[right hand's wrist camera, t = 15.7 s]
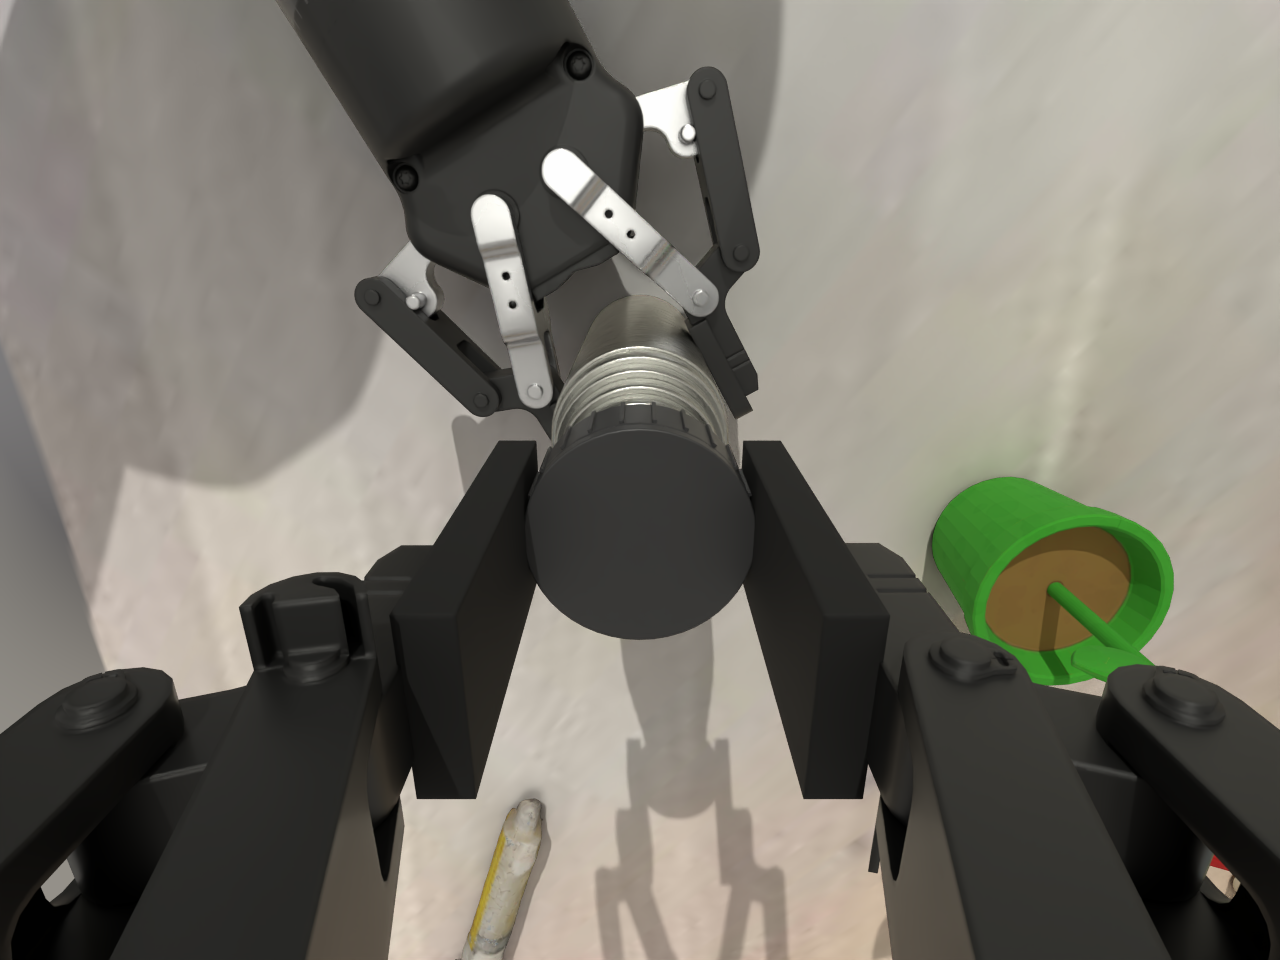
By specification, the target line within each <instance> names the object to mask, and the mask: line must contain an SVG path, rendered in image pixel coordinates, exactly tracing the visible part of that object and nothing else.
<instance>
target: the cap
mask: <svg viewBox="0 0 1280 960" xmlns="http://www.w3.org/2000/svg"><path fill="white" fill-rule="evenodd" d="M539 471H540V472H538V471H537V473H536V476H535V478H534V481H533V483H532V486H531V488H530V491H529V493H528V496H527V499H529V502H528V505H527V509H526V512H525V534H526V549H527V562H528V566H529V568H530V571H531V573H532V575H533V577H534V580H535V581H536V583H537V584H538V586H539V588H540V589H541V591H542V592H543V593H544V595H545V596H546V597H547V598H548V600H549V601H550V602H551V603H552V604H553V605H554V606H555V607H556V608H557V609H558V610H559V611H560V612H562V613H563V614H564V615H566V616H567V617H568V618H570V619H571V620H573V621H574V622H576V623H578V624H580V625H582V626H583V627H585V628H588V629H590V630H592V631H595V632H597V633H601V634H604V635H607V636H611V637H617V638H622V639H634V640H645V639H657V638H663V637H669V636H672V635H676V634H679V633H682V632H685V631H687V630H690V629H692V628H694V627H696V626H698V625H700V624H702V623H703V622H705V621H707V620H708V619H710V618H711V617H713V616H714V615H715V614H717V613H718V612H719V611H720V610H721V609H722V608H723V607H725V606H726V605H727V604H728V603H729V602H730V600H731V599H732V598H733V597H734V596H735V594H736V593H737V592H738V590H739V589H740V587H741V585H742V584H743V582H744V581H745V579H746V577H747V574H748V572H749V570H750V568H751V564H752V558H753V543H754V528H755V514H754V510H753V507H752V503H751V500H750V497H749V496H752V494H751V491H750V488H749V486H748V484H747V481H746V479H745V476H744V474H743V471H742V469H739V468H738V465H737V463H736V460H735V458H734V455H733V453H732V450H731V447H730V446H729V444H727V445H725V444H724V443H723V442H722V441H721V439H720V438H719V437H718V436H717V435H716V434H715V433H714V432H713V431H712V428H711V426H710V425H709V424H708V423H707V424H706V425H704V424H703V423H701V422H700V421H698V420H697V419H695V418H693V417H691V416H689V415H687V414H686V412H685V410H683V409H681V411H677V410H674V409H671V408H669V407H664V406H658V405H656V402H651V404H629V405H625V402H622V403H621V406H616V407H611V408H608V409H605V410H602V411H599V412H596V410H594V411H592V413H591V416H588V417H586V418H585V419H583V420H582V421H580V422H579V423H577V424H575V425H574V426H573V427H571V426H570V425H569V426H568V427H567V428H566V431H565V434H564V435H563V436H562V437H561V438H560V439H559V440H558V441H557V443H556V444H555V445H554V446H553V448H552V447H549V448H548V450H547V453H546V455H545V458H544V460H543V463H542V465H541V468H540V470H539Z"/></svg>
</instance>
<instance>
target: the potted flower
mask: <svg viewBox="0 0 1280 960" xmlns="http://www.w3.org/2000/svg"><path fill="white" fill-rule="evenodd" d="M932 551H933V558H934V560H935V563H936V565H937V568H938V569H939V571H940V573H941V574H942V576H943V578H944V579H945V581H946V583H947V584H948V586H949V588H950V590H951V591H952V593H953V595H954V596H955V598H956V600H957V601H958V603H959V605H960V606H961V608H962V610H963V612H964V617H965V621H966V623H967V626H968V628H969V631H970V633H971V635H975V636H978V637H980V638H983V639H985V640H988V641H990V642H993V643H995V644H997V645H999V646H1000V647H1002V648H1003V649H1005V650H1006V651H1008V652H1009V653H1011V654H1013V655H1014V656H1015V657H1016V658H1017V659H1018V660H1019V662H1020V663H1021V664H1022V665H1023V666H1024V668H1025V669H1026V670H1027V672H1028V674H1029V676H1030V678H1031V680H1032V682H1033V683H1037V684H1041V685H1048V686H1049V685H1067V684H1072V683H1077V682H1081V681H1086V680H1089V679H1092V678H1096V679H1099V680H1101V681H1104V682H1106V681H1107V677H1108V675H1109V674H1110V673H1112V672H1113V671H1114V670H1115V669H1117V668H1118V667H1122V666H1128V665H1134V664H1142V665H1153V666H1155V665H1154V664H1153V663H1152V662H1151V661H1149V660H1148V659H1147V658H1146V657H1145V656H1144V655H1143V654H1141V653H1140V652H1139V651H1140V650H1141V649H1142V648H1143V647H1144V646H1145V645H1146V644H1147V643H1148V642H1149V641H1150V640H1151V638H1152V637H1153V636H1154V634H1155V633H1156V631H1157V630H1158V628H1159V627H1160V626H1161V624H1162V622H1163V620H1164V618H1165V616H1166V614H1167V612H1168V609H1169V607H1170V603H1171V599H1172V594H1173V590H1174V573H1173V569H1172V565H1171V561H1170V557H1169V555H1168V554H1167V552H1166V550H1165V548H1164V546H1163V545H1162V543H1161V542H1160V541H1159V540H1158V539H1157V538H1156V537H1155V536H1154V535H1153V534H1152V533H1151V532H1150V531H1149V530H1147V529H1145V528H1144V527H1142V526H1140V525H1139V524H1137V523H1135V522H1133V521H1131V520H1129V519H1126V518H1124V517H1122V516H1120V515H1117V514H1115V513H1112V512H1109V511H1106V510H1103V509H1100V508H1096V507H1088V506H1085V505H1083V504H1081V503H1079V502H1077V501H1075V500H1072V499H1070V498H1068V497H1066V496H1064V495H1061V494H1059V493H1057V492H1055V491H1053V490H1050V489H1048V488H1046V487H1044V486H1042V485H1040V484H1037V483H1035V482H1032V481H1029V480H1026V479H1023V478H1015V477H1002V478H995V479H990V480H986V481H982V482H980V483H978V484H975V485H973V486H971V487H969V488H968V489H966V490H965V491H963V492H961V493H960V494H959V495H958V496H956V497H955V498H954V499H953V500H952V501H951V502H950V503H949V504H948V505H947V507H946V508H945V509H944V511H943V512H942V514H941V515H940V517H939V519H938V521H937V523H936V527H935V530H934V533H933V540H932ZM1210 866H1213V867H1217V868H1220V869H1224V870H1227V871H1229V870H1228V869H1227V868H1226V867H1225V866H1224V865H1223V864H1222V863H1221V862H1220V860H1219V859H1218V858H1217V857H1216V856H1215V855H1214V856H1213V859H1212V861H1211V864H1210Z"/></svg>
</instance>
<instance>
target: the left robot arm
mask: <svg viewBox="0 0 1280 960" xmlns="http://www.w3.org/2000/svg"><path fill="white" fill-rule="evenodd" d="M276 2H277V3H278V5H279V6H280V8H281V10H282V11H283V13H284V14H285V16H286V17H287V19H288V21H289V22H290V24H291V25H292V27H293V28H294V30H295V31H296V33H297V35H298V36H299V38H300V39H301V41H302V43H303V44H304V46H305V47H306V49H307V51H308V52H309V54H310V55H311V57H312V58H313V60H314V62H315V63H316V65H317V66H318V68H319V70H320V71H321V73H322V74H323V76H324V78H325V79H326V81H327V82H328V84H329V85H330V87H331V89H332V90H333V92H334V93H335V95H336V97H337V98H338V100H339V101H340V103H341V104H342V106H343V108H344V109H345V111H346V112H347V114H348V116H349V117H350V119H351V120H352V122H353V123H354V125H355V127H356V128H357V130H358V131H359V133H360V134H361V136H362V138H363V139H364V141H365V142H366V144H367V146H368V147H369V149H370V150H371V152H372V153H373V155H374V157H375V158H376V160H377V161H378V163H379V165H380V166H381V168H382V169H383V171H384V172H385V174H386V176H387V177H388V179H389V180H390V182H391V183H392V185H393V186H394V188H395V189H396V191H397V193H398V195H399V197H400V199H401V202H402V205H403V209H404V214H405V222H406V230H407V234H408V237H409V239H410V241H409V242H408V243H407V244H406V245H405V246H404V248H403V249H402V250H401V251H400V252H399V253H398V254H397V255H396V257H395V258H394V259H393V260H392V261H391V262H390V263H389V264H388V266H387V267H386V268H385V269H384V270H383V271H382V272H381V274H380V275H378V276H376V277H371V278H367V279H364V280H362V281H360V282H359V283H358V285H357V286H356V289H355V300H356V303H357V305H358V306H359V308H360V309H361V310H362V311H363V312H364V313H365V314H366V315H367V316H368V317H370V318H371V319H372V320H373V321H374V322H375V323H376V324H377V325H378V326H379V327H380V328H381V329H382V330H383V331H384V332H385V333H387V334H388V335H389V336H390V337H391V338H392V339H393V340H394V341H395V342H396V343H397V344H398V345H399V346H400V347H401V348H403V349H404V350H405V351H406V352H407V353H408V354H409V355H410V356H411V357H412V358H413V359H414V360H415V361H416V362H417V363H418V364H420V365H421V366H422V367H423V368H424V369H425V370H426V371H427V372H428V373H429V374H430V375H431V376H432V377H433V378H434V379H436V380H437V381H438V382H439V383H440V384H441V385H442V386H443V387H444V388H445V389H446V390H447V391H448V392H449V393H450V394H452V395H453V396H454V397H455V398H456V399H457V400H458V401H459V402H460V403H461V404H462V405H463V406H464V407H465V408H466V409H467V410H469V411H470V412H471V413H472V414H474V415H476V416H479V417H487V416H490V415H492V414H493V413H494V412H497V411H504V410H510V409H524V410H527V411H529V412H531V413H532V414H533V415H534V416H535V417H536V418H537V419H538V421H539V422H540V424H541V426H542V427H543V429H544V430H545V432H546V434H547V435H548V437H549V438H550V440H552V420H553V414H554V409H555V406H556V403H557V400H558V398H559V396H560V393H561V391H562V389H563V387H564V383H563V381H562V380H561V378H560V371H559V366H558V362H557V357H556V352H555V347H554V343H553V338H552V333H551V321H550V314H549V309H548V305H547V300H546V296H547V295H548V294H550V293H552V292H553V291H555V290H557V289H558V288H559V287H560V286H561V285H563V284H564V283H565V282H566V281H567V280H568V278H569V277H570V276H571V275H572V274H573V273H574V272H575V271H577V270H581V269H585V268H589V267H592V266H596V265H599V264H601V263H602V262H604V261H606V260H607V259H609V258H611V257H613V256H614V255H616V254H618V253H619V252H621V253H622V254H623V255H625V256H626V257H627V258H628V259H629V260H630V261H631V262H632V263H633V264H634V265H636V266H637V267H638V268H639V269H640V270H641V271H642V272H643V273H645V274H646V275H647V276H649V277H650V278H651V279H652V280H653V281H654V282H655V283H657V284H658V285H659V286H660V287H661V288H662V289H663V290H664V291H665V292H666V293H667V294H669V295H670V296H671V297H672V298H673V299H674V300H675V301H676V302H677V303H678V304H680V305H681V306H682V307H683V309H684V311H685V313H686V315H687V317H688V319H686V320H684V322H685V324H686V326H687V329H688V331H689V333H690V335H691V336H692V338H693V340H694V342H695V344H696V346H697V347H698V349H699V351H700V352H701V354H702V356H703V358H704V360H705V362H706V365H707V367H708V369H709V370H710V372H711V374H712V376H713V378H714V380H715V382H716V384H717V386H718V387H719V389H720V391H721V393H722V395H723V397H724V399H725V401H726V403H727V404H728V406H729V408H730V410H731V412H732V414H733V416H734V418H735V419H738V418H740V417H742V416H744V415H745V414H747V413H749V412H751V411H753V409H752V407H751V405H750V404H749V402H748V400H747V398H746V396H747V395H749V394H751V393H753V392H755V391H756V390H758V377H757V373H756V371H755V369H754V367H753V365H752V363H751V361H750V359H749V357H748V355H747V353H746V351H745V349H744V347H743V345H742V343H741V341H740V339H739V337H738V335H737V333H736V331H735V329H734V327H733V325H732V323H731V321H730V319H729V317H728V315H727V313H726V310H725V298H726V295H727V293H728V291H729V289H730V288H731V287H732V286H733V285H734V283H735V282H736V281H737V280H738V279H739V278H740V277H741V275H742V274H743V273H744V272H746V271H748V270H750V269H751V268H753V267H754V266H755V264H756V263H757V261H758V259H759V255H760V249H759V243H758V238H757V233H756V228H755V223H754V218H753V213H752V208H751V203H750V198H749V193H748V187H747V182H746V177H745V172H744V167H743V162H742V157H741V152H740V147H739V142H738V137H737V132H736V126H735V121H734V116H733V111H732V106H731V101H730V96H729V91H728V86H727V82H726V79H725V77H724V75H723V74H722V73H721V72H720V71H719V70H718V69H716V68H713V67H703V68H700V69H698V70H697V71H695V72H694V73H693V74H692V76H691V77H690V79H689V80H688V81H686V82H682V83H679V84H676V85H673V86H669V87H666V88H663V89H660V90H656V91H653V92H650V93H646V94H643V95H640V96H637V97H635V96H634V94H633V93H632V92H631V91H630V90H629V89H628V88H627V87H625V86H624V85H622V84H621V83H619V82H618V81H616V80H615V79H614V78H613V77H612V76H610V75H609V74H608V73H607V72H606V70H605V69H604V68H603V67H602V65H601V64H600V62H599V60H598V58H597V57H596V55H595V53H594V51H593V49H592V47H591V45H590V43H589V41H588V39H587V37H586V35H585V33H584V31H583V29H582V27H581V25H580V23H579V21H578V19H577V17H576V15H575V13H574V11H573V9H572V7H571V5H570V3H569V1H568V0H276ZM644 131H655V132H657V133H659V134H660V135H662V136H663V137H664V139H665V140H666V142H667V145H668V147H669V149H670V151H671V152H672V154H674V155H675V156H676V157H678V158H681V159H689V158H693V157H694V161H695V165H696V170H697V174H698V179H699V183H700V188H701V193H702V197H703V202H704V206H705V211H706V215H707V220H708V224H709V229H710V234H711V238H712V243H713V247H712V248H711V249H710V250H709V251H708V252H707V254H706V255H705V256H704V257H703V258H702V260H701V261H700V262H699V263H698V264H697V265H696V267H695V266H693V265H692V264H691V263H690V262H689V261H688V260H687V259H686V258H685V257H684V256H683V255H682V254H681V253H680V252H678V251H677V250H676V249H675V248H674V247H673V246H672V245H671V244H670V243H669V242H668V241H667V240H666V239H665V238H664V237H662V236H661V235H660V234H659V233H658V232H657V231H656V230H655V229H654V228H653V227H652V226H651V225H650V224H649V223H648V222H646V221H645V220H644V219H643V218H642V217H641V216H640V215H639V214H638V213H637V212H636V211H635V206H636V196H637V187H638V178H639V168H640V159H641V150H642V140H643V132H644ZM631 231H634V233H635V235H634V236H630V234H631ZM435 264H438V265H440V266H443V267H445V268H447V269H449V270H451V271H453V272H456V273H458V274H460V275H462V276H464V277H466V278H469V279H471V280H473V281H475V282H477V283H479V284H482V285H484V286H486V287H488V288H490V292H491V296H492V300H493V304H494V308H495V313H496V317H497V321H498V325H499V329H500V333H501V337H502V340H503V342H504V344H505V345H506V346H507V349H508V353H509V357H510V361H511V366H512V368H508V369H501V368H500V367H499V366H498V365H497V364H496V363H495V362H494V361H493V360H492V359H491V358H490V357H488V356H487V355H486V354H485V353H484V352H483V351H482V350H481V349H480V348H479V347H478V346H477V345H476V344H475V343H474V342H473V341H472V340H471V339H470V338H469V337H468V336H467V335H466V334H465V333H464V332H463V331H462V330H461V329H460V328H459V327H458V326H457V325H456V324H455V323H454V322H453V321H452V320H451V319H450V318H449V317H447V316H446V315H445V314H444V313H443V312H442V311H441V310H440V309H441V308H442V306H443V304H444V294H443V291H442V289H441V288H440V286H439V285H438V284H437V282H436V280H435V278H434V266H435Z"/></svg>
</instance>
